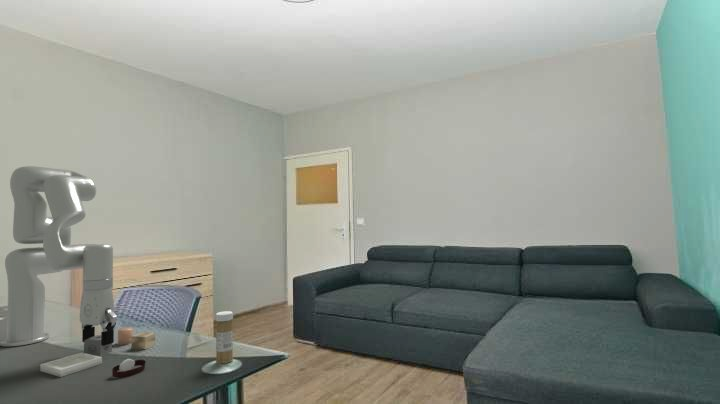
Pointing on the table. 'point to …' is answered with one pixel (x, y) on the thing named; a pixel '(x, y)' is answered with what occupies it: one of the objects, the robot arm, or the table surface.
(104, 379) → the table surface
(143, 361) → the watch
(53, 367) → the dish
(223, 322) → the sprinkles bottle
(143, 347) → the oak block
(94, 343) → the grey marked block
